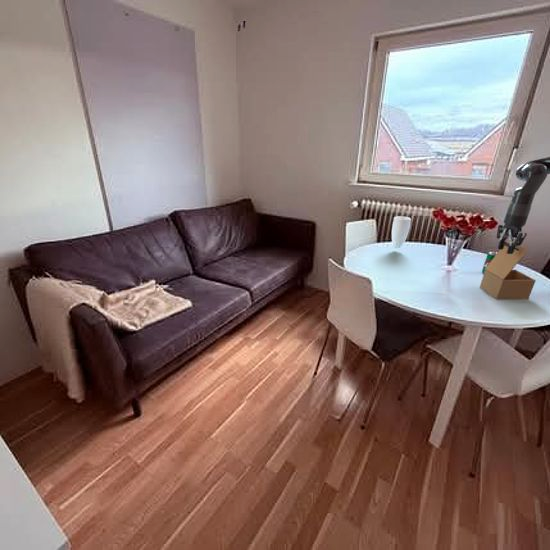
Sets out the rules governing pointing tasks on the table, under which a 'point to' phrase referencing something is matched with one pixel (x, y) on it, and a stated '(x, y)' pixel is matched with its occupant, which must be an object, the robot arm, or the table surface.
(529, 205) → the robot arm
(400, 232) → the white vase
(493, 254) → the soda can
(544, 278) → the table surface
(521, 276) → the carton
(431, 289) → the table surface
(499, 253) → the flap
